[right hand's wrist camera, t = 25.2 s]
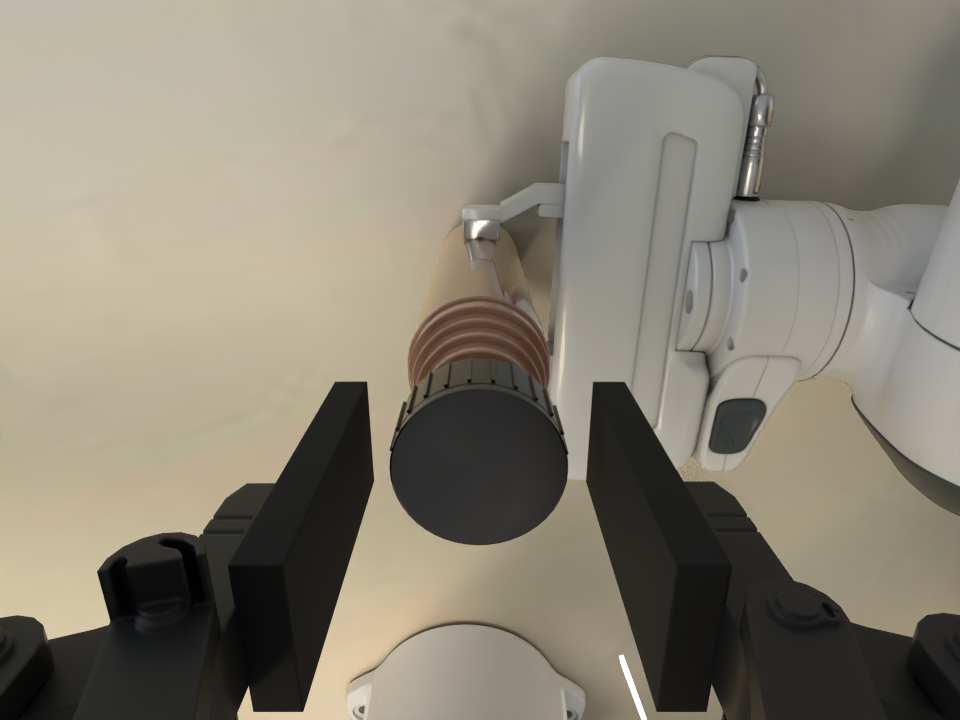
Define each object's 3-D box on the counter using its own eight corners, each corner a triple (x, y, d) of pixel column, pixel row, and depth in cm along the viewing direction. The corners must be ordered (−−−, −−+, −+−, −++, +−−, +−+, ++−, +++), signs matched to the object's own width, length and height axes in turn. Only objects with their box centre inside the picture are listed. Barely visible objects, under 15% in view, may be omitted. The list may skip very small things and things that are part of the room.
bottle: (492, 204, 35) (516, 324, 13) (530, 269, 36) (612, 484, 14) (427, 244, 36) (340, 425, 13) (466, 306, 37) (447, 566, 15)
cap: (582, 380, 14) (597, 415, 13) (530, 515, 16) (537, 564, 14) (421, 335, 14) (412, 364, 12) (381, 477, 15) (369, 523, 13)
